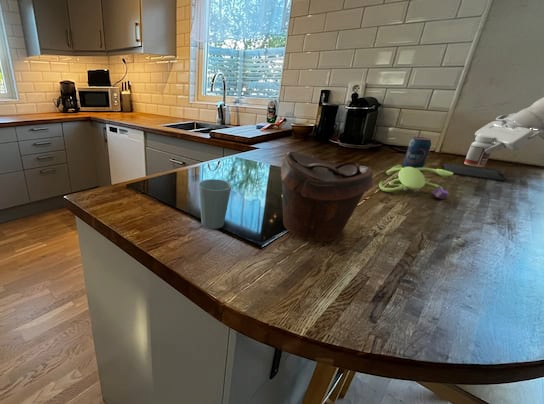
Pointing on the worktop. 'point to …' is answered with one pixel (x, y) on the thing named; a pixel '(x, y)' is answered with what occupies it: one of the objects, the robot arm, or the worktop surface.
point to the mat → (473, 172)
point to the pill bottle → (479, 151)
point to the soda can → (417, 152)
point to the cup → (214, 202)
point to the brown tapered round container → (320, 195)
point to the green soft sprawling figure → (415, 180)
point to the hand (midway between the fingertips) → (478, 149)
